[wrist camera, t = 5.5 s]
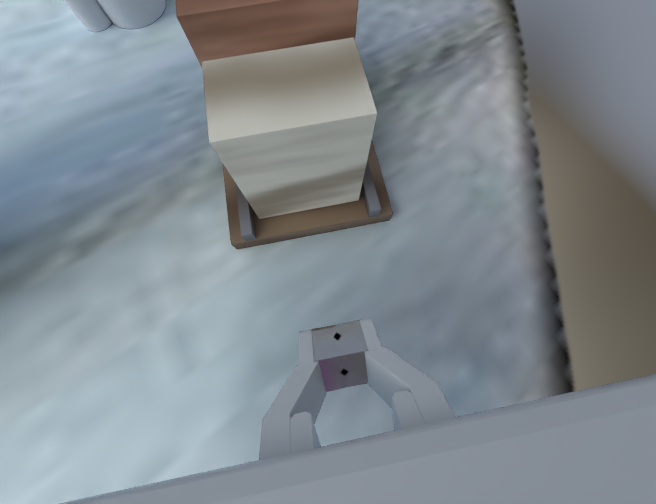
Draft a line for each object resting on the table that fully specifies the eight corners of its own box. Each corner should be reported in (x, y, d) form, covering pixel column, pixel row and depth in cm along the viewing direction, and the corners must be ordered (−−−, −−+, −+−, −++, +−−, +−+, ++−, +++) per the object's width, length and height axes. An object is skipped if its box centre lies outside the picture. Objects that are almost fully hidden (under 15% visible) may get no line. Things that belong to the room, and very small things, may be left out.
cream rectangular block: (358, 200, 21) (377, 113, 13) (259, 218, 21) (209, 142, 12) (345, 148, 23) (353, 37, 14) (251, 164, 22) (201, 61, 14)
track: (389, 220, 23) (418, 165, 15) (237, 249, 22) (187, 207, 15) (344, 62, 28) (349, -41, 20) (219, 82, 27) (174, -15, 19)
